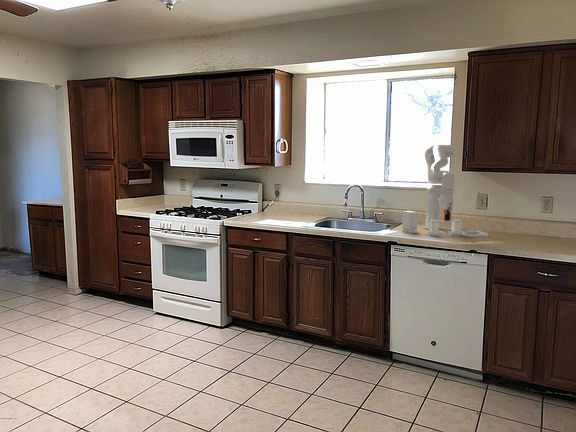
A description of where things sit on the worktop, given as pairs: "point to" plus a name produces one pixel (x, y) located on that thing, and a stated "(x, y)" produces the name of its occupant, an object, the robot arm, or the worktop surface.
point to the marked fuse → (444, 216)
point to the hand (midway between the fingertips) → (445, 219)
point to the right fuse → (456, 227)
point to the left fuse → (434, 227)
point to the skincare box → (409, 222)
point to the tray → (474, 234)
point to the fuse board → (450, 234)
